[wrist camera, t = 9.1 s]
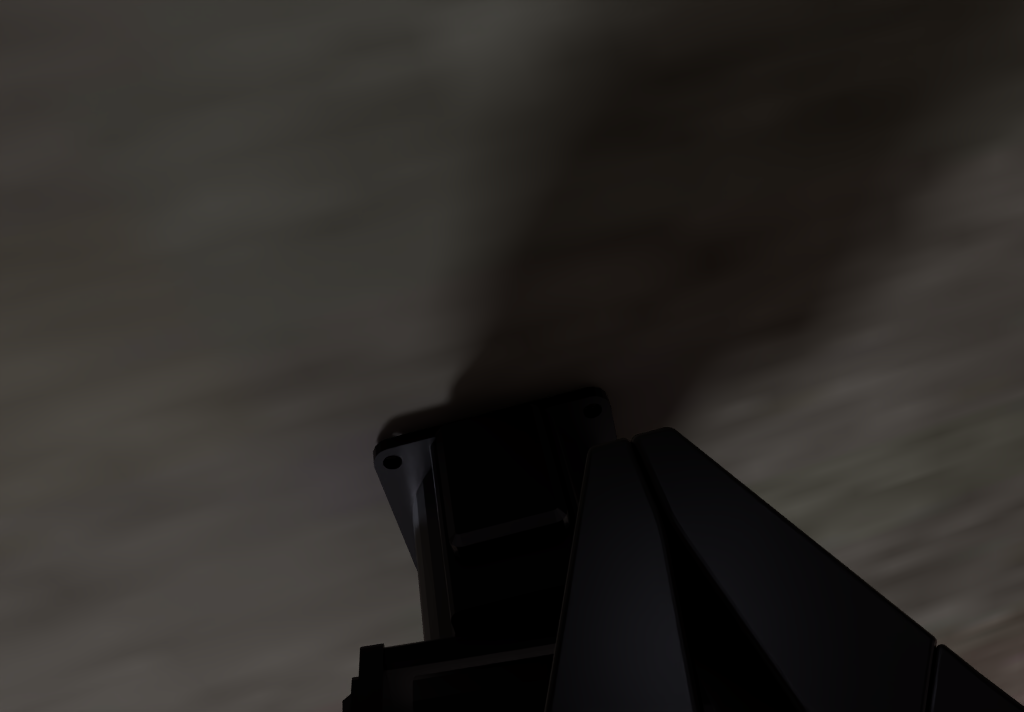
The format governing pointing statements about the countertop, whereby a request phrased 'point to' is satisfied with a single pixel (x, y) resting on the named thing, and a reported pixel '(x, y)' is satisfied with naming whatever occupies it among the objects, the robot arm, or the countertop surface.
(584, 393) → the robot arm
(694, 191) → the countertop surface
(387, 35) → the countertop surface
